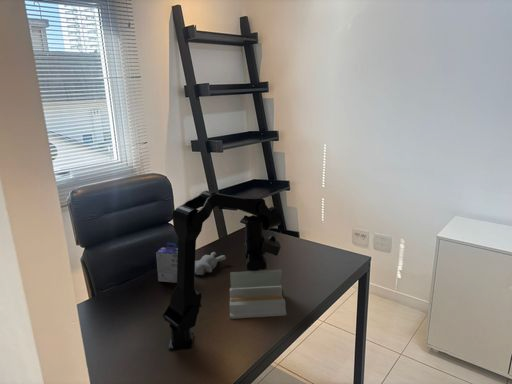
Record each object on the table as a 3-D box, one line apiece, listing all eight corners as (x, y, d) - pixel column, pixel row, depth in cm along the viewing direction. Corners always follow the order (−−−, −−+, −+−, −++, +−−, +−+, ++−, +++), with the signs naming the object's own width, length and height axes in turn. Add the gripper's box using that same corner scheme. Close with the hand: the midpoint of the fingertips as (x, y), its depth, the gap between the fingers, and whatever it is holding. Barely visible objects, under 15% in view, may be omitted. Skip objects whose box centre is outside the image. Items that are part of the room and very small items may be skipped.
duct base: (286, 315, 119) (286, 305, 118) (230, 318, 118) (229, 309, 117) (280, 289, 135) (279, 280, 134) (230, 292, 134) (229, 283, 133)
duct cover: (282, 272, 122) (281, 269, 123) (230, 275, 121) (229, 272, 122) (279, 285, 130) (279, 283, 130) (231, 288, 129) (231, 285, 130)
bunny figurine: (185, 263, 148) (210, 246, 159) (187, 274, 150) (212, 257, 161) (202, 270, 142) (227, 252, 153) (204, 281, 144) (229, 262, 155)
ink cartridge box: (187, 276, 146) (185, 242, 142) (182, 283, 140) (179, 248, 137) (164, 274, 148) (160, 240, 144) (158, 281, 142) (154, 246, 139)
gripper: (282, 243, 113) (282, 289, 118) (275, 222, 131) (275, 263, 136) (246, 245, 113) (247, 291, 117) (243, 224, 131) (245, 264, 135)
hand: (255, 276), depth 126 cm, fingers closed, pressing on duct cover
